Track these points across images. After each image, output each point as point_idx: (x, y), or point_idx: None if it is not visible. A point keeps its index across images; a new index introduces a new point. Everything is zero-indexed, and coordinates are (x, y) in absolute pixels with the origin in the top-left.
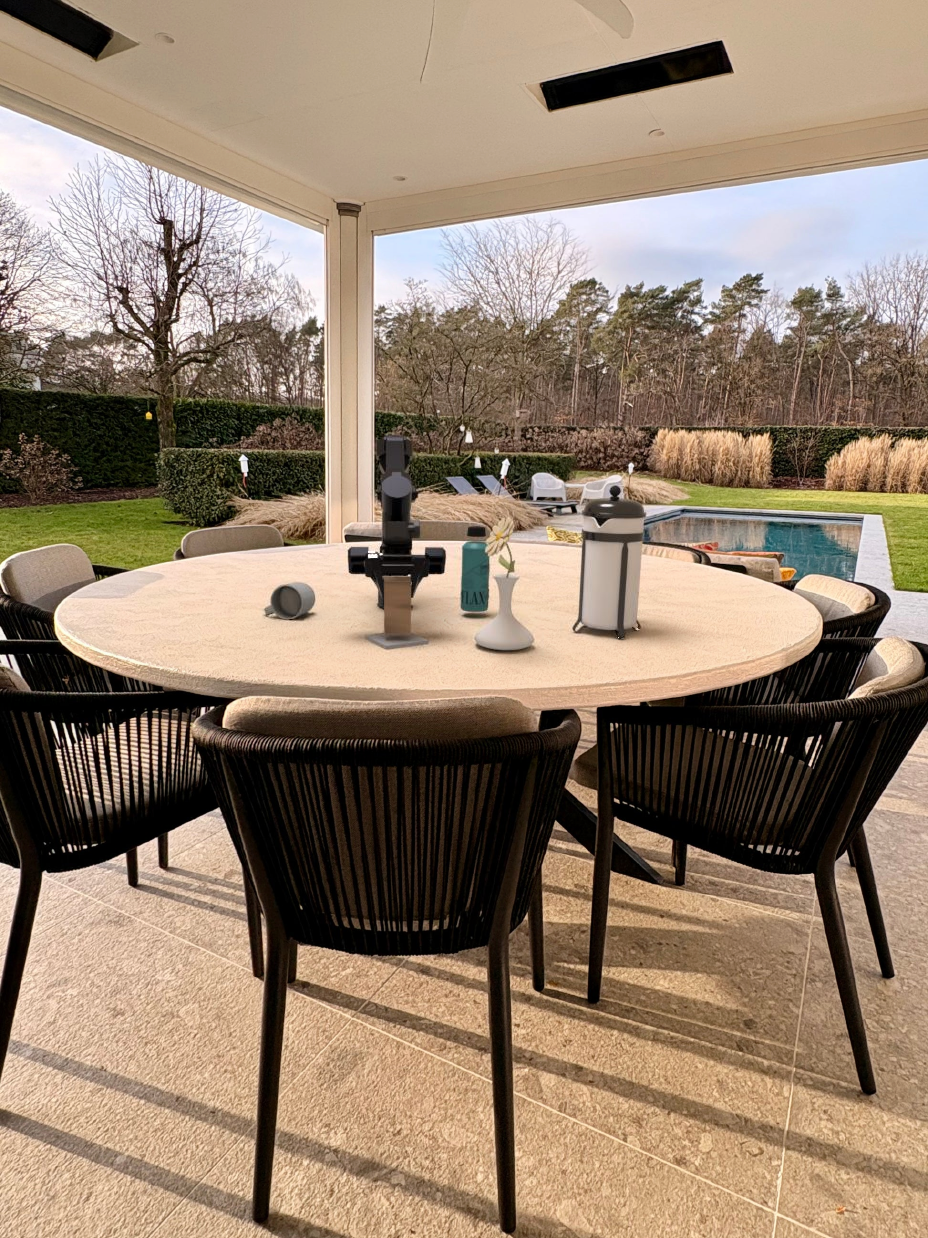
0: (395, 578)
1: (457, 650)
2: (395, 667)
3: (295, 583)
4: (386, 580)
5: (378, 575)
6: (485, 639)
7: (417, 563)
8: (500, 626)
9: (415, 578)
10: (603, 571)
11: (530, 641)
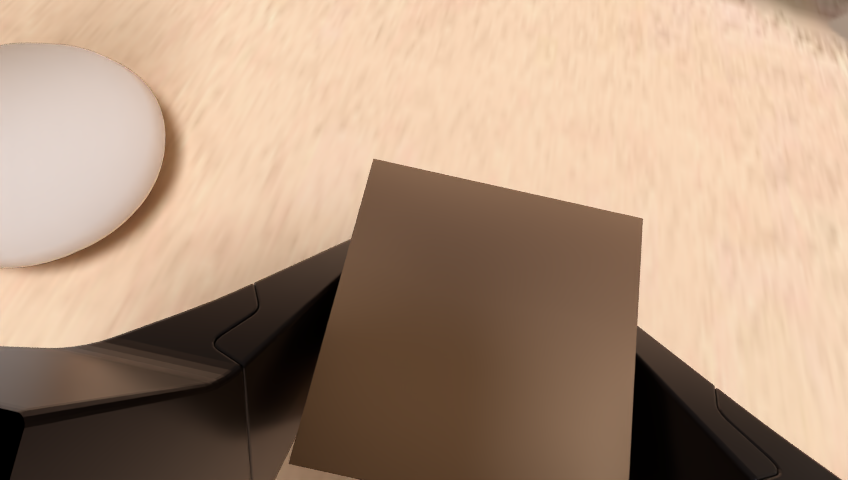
0: (496, 400)
1: (251, 173)
2: (496, 58)
3: None
4: (614, 281)
5: (734, 417)
6: (141, 97)
7: (61, 372)
8: (29, 61)
9: (274, 290)
10: None
11: None
